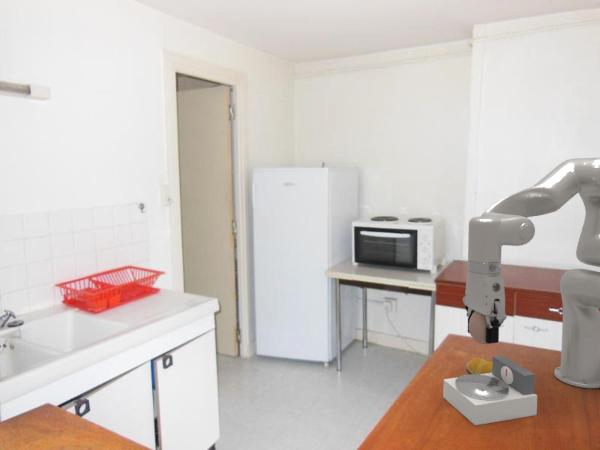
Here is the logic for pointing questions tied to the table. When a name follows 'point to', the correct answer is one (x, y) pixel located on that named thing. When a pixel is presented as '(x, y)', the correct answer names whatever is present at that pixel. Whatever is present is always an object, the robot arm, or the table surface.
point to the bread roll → (479, 366)
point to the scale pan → (482, 387)
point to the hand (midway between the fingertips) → (482, 336)
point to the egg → (478, 327)
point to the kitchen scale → (511, 407)
